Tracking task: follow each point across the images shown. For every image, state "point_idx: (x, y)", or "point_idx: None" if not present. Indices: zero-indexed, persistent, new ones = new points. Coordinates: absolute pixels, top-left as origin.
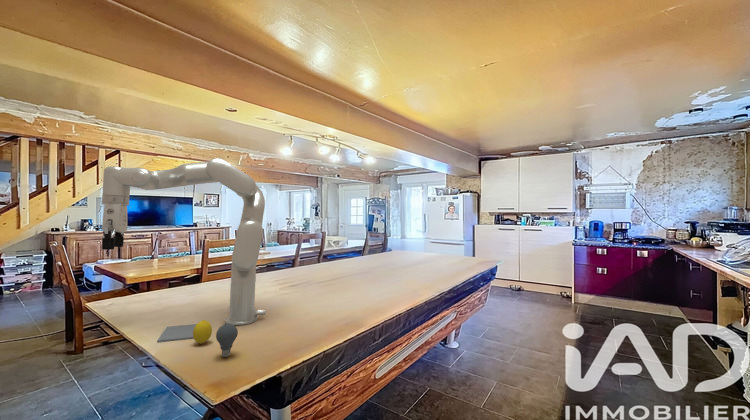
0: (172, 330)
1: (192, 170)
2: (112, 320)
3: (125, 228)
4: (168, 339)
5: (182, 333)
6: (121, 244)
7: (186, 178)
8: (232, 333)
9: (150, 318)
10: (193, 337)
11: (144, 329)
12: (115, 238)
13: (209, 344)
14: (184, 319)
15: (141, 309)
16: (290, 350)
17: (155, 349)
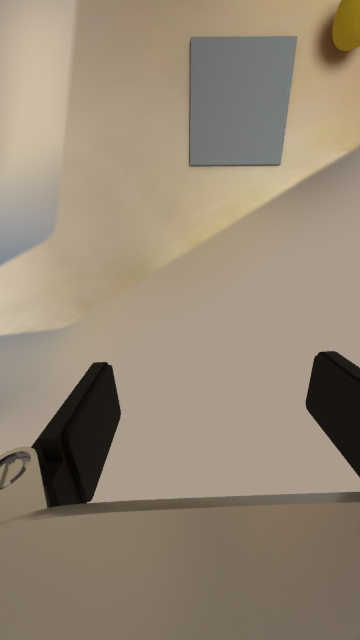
0: (223, 142)
1: None
2: (103, 301)
3: (148, 618)
4: (283, 138)
5: (255, 109)
6: (106, 378)
7: None
8: None
9: (102, 227)
10: (356, 47)
11: (182, 218)
12: (91, 467)
13: None
14: (127, 133)
15: (25, 270)
16: None
17: (317, 157)
